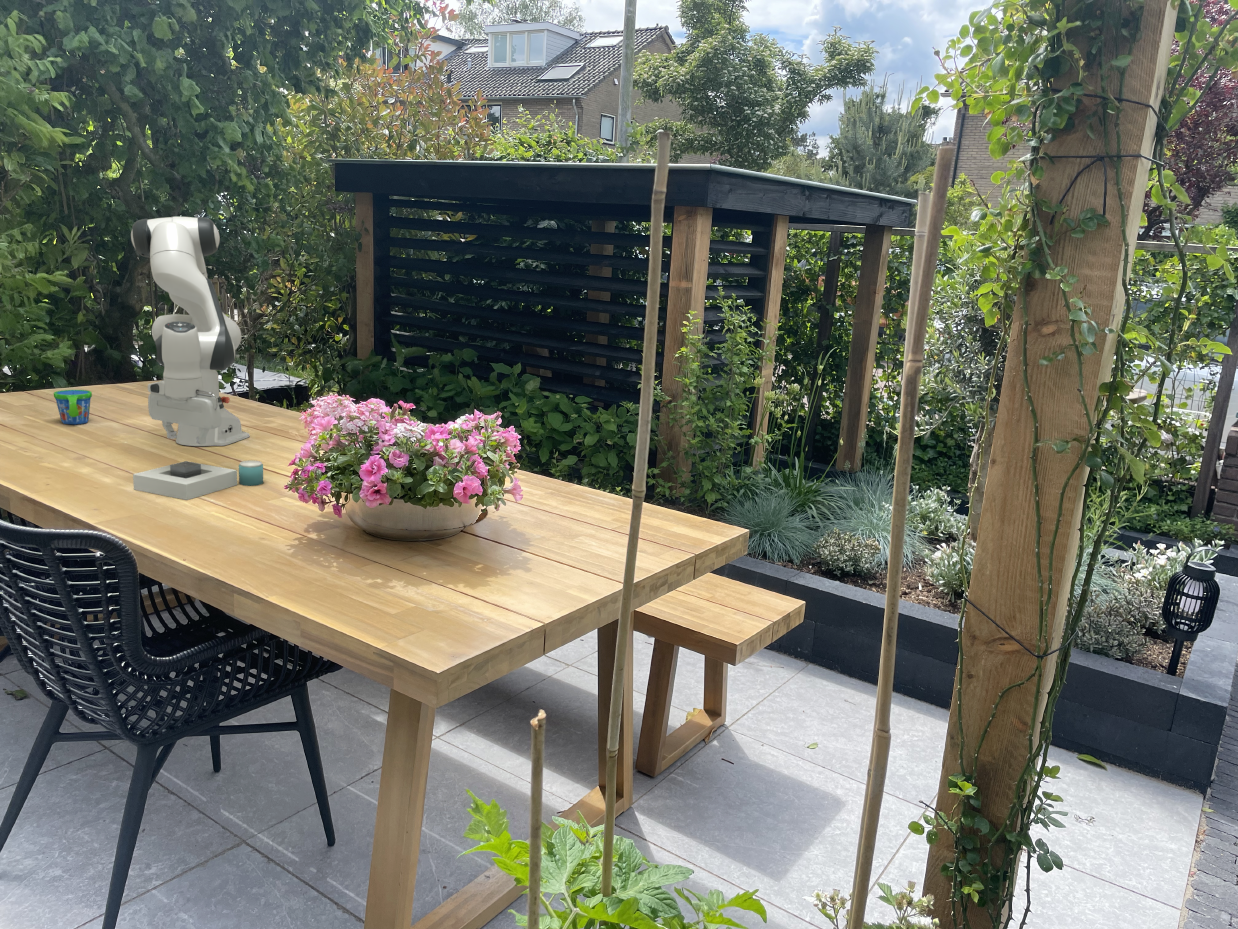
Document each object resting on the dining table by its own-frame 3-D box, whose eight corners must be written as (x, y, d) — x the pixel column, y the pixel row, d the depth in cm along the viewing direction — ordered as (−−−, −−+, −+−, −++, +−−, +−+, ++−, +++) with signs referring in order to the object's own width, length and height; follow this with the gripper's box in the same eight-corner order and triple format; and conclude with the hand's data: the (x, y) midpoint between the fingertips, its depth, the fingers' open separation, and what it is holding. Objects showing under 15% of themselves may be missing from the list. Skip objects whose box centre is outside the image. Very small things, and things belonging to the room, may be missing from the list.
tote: (186, 475, 239) (186, 460, 238) (237, 484, 234) (236, 470, 233) (133, 489, 224) (132, 474, 223) (186, 500, 218) (186, 484, 217)
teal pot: (250, 479, 241) (249, 458, 239) (268, 482, 239) (267, 462, 237) (234, 483, 235) (233, 463, 234) (252, 487, 233) (251, 466, 232)
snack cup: (60, 418, 293) (57, 387, 291) (96, 417, 298) (94, 387, 295) (52, 428, 280) (49, 396, 277) (90, 427, 284) (88, 396, 281)
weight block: (186, 479, 232) (185, 461, 231) (201, 482, 230) (200, 464, 229) (171, 484, 227) (170, 465, 226) (186, 487, 226) (185, 468, 224)
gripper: (226, 391, 223) (228, 444, 226) (162, 381, 229) (165, 433, 232) (207, 394, 217) (209, 449, 221) (142, 384, 223) (145, 437, 227)
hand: (186, 440), depth 227 cm, fingers open, 8 cm apart
